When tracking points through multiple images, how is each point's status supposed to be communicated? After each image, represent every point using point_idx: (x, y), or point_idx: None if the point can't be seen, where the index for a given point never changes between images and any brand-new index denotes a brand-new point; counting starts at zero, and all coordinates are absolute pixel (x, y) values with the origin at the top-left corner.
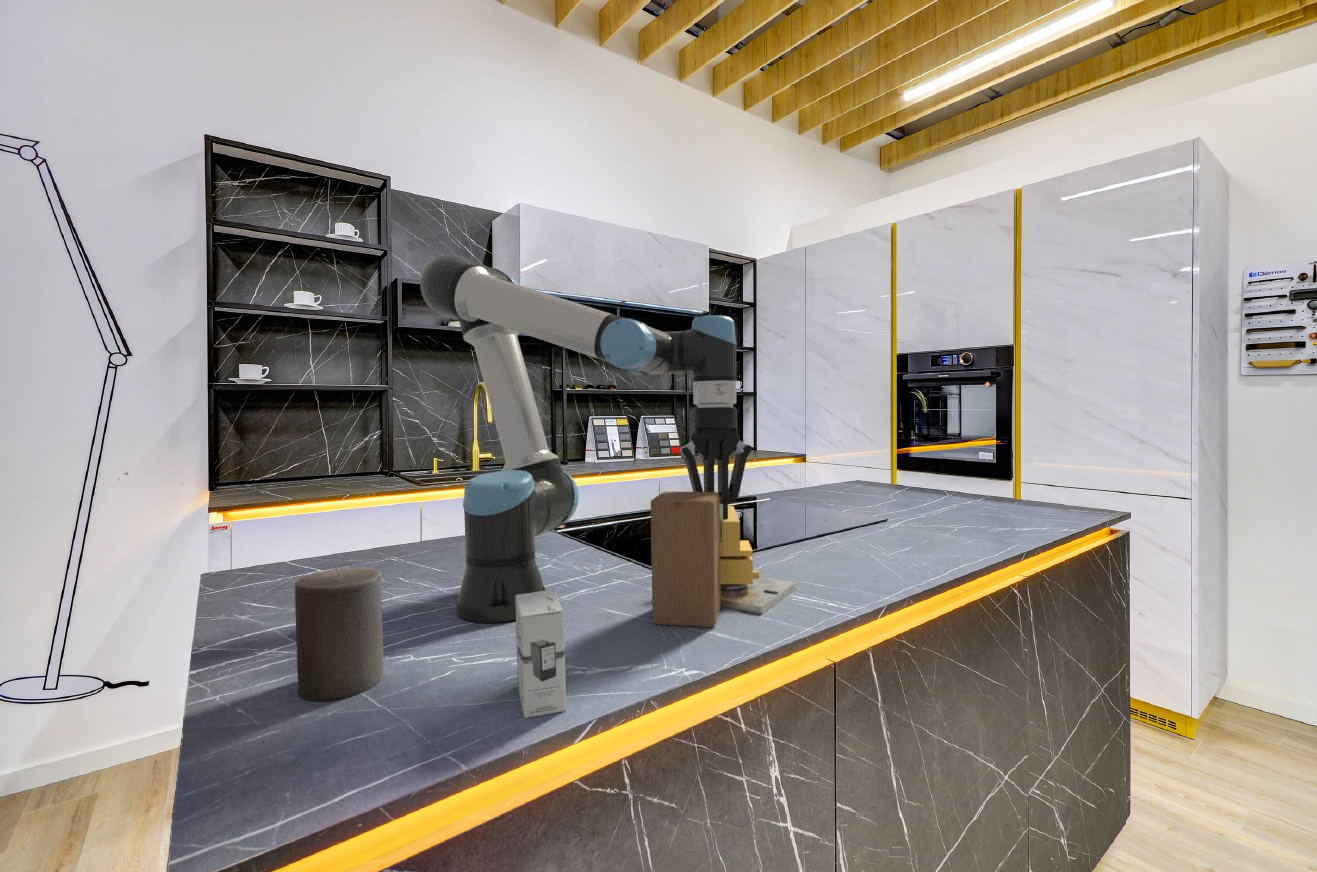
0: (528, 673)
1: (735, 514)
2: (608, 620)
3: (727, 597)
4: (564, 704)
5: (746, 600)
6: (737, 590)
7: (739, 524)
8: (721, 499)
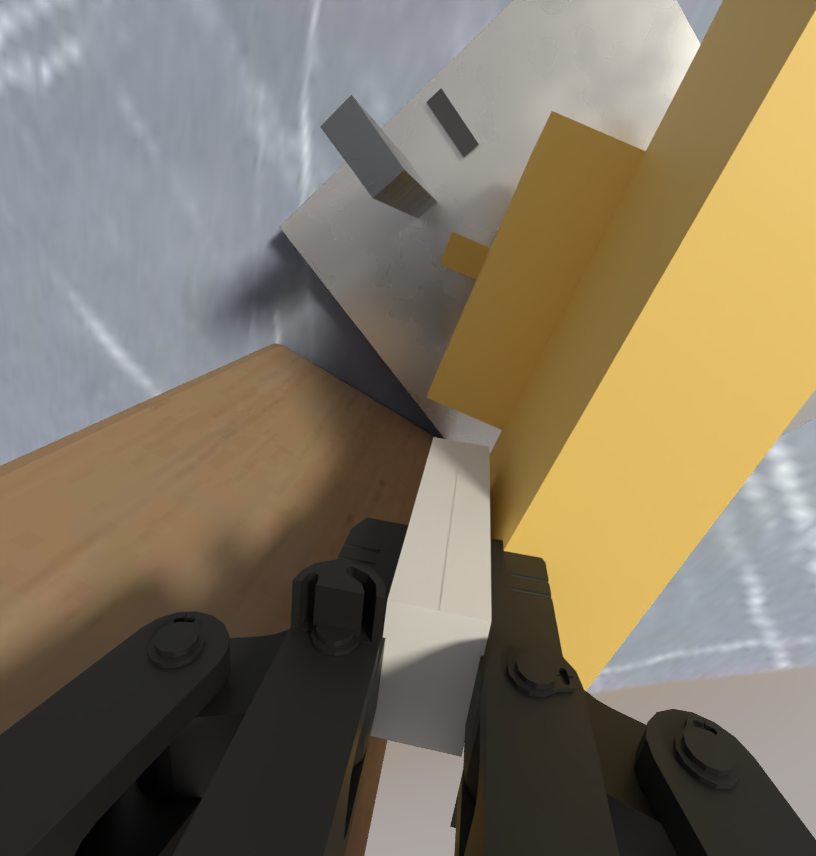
0: None
1: (734, 471)
2: (92, 409)
3: (484, 436)
4: None
5: None
6: None
7: None
8: (460, 784)
